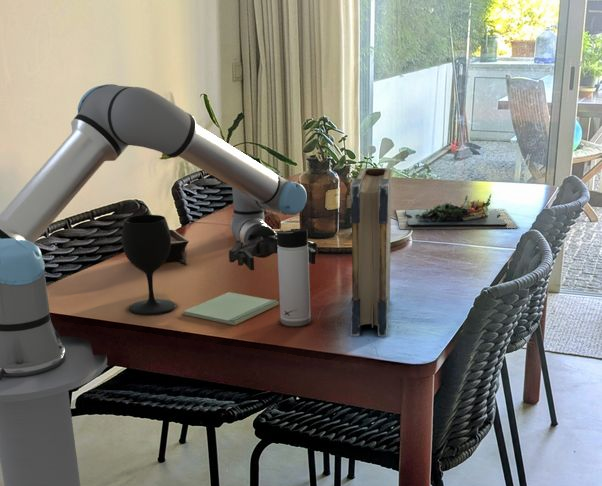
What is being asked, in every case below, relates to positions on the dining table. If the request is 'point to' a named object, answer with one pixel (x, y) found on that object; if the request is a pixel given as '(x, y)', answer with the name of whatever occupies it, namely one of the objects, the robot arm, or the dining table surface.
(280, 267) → the travel mug
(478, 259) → the dining table surface
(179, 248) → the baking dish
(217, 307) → the pale green notebook
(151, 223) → the wine glass
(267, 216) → the seed pod
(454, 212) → the plated dish
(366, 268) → the decorative book
